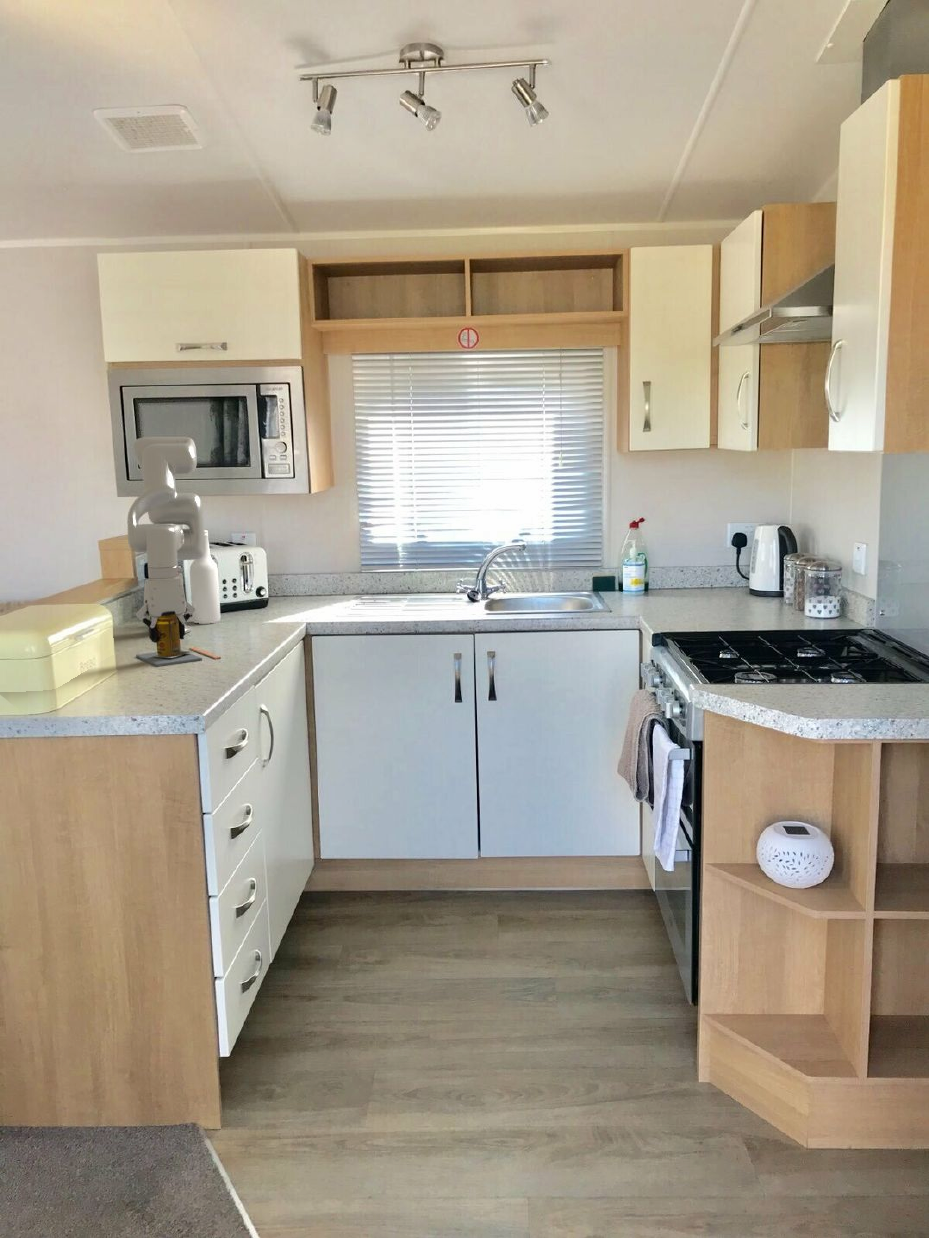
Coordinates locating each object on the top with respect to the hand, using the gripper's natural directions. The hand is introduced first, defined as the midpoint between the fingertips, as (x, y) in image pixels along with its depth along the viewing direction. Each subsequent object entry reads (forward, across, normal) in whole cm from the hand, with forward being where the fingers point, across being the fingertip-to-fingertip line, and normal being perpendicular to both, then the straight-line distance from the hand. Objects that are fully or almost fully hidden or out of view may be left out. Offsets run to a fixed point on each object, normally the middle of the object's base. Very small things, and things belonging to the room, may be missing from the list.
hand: (167, 639), depth 255 cm
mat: (+5, 0, 0) cm, 5 cm away
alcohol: (+6, -31, -49) cm, 58 cm away
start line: (+5, -10, 0) cm, 11 cm away
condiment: (+4, -1, 0) cm, 4 cm away
